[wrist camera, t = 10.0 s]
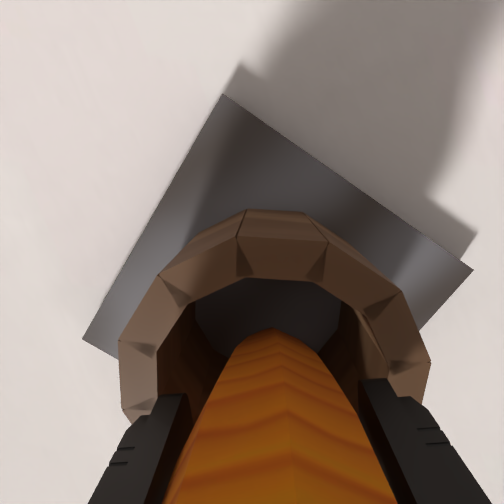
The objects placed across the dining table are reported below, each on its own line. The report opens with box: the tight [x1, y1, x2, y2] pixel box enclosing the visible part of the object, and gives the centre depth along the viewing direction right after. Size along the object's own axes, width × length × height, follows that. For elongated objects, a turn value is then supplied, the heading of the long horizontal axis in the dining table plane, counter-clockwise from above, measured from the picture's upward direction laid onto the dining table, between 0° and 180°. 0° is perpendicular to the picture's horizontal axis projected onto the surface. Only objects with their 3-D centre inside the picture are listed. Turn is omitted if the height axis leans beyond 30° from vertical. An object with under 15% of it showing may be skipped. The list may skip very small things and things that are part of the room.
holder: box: [82, 94, 473, 425], centre depth 14 cm, size 14×14×7 cm
